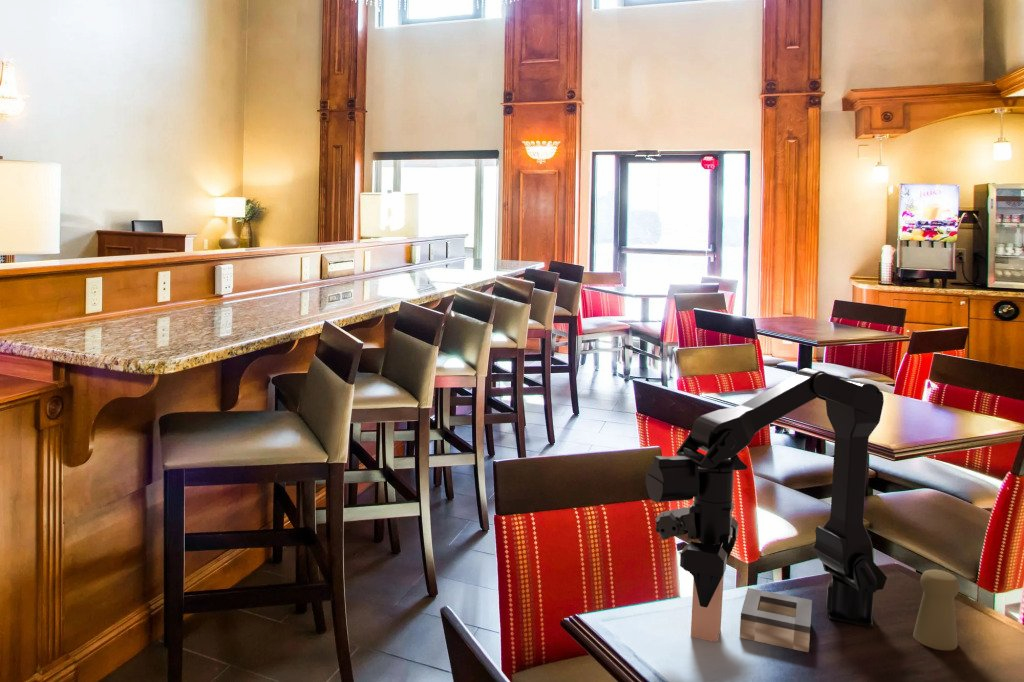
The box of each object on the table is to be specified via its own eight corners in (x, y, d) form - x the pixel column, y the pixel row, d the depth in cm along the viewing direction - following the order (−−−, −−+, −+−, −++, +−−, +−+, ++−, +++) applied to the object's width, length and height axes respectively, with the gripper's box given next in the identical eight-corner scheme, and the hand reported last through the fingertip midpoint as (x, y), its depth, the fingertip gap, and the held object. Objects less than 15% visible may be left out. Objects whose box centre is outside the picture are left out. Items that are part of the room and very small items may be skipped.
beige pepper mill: (964, 652, 109) (970, 583, 108) (920, 647, 111) (926, 578, 110) (948, 633, 115) (954, 567, 114) (907, 628, 117) (912, 563, 115)
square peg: (720, 630, 115) (723, 570, 114) (717, 642, 111) (720, 579, 110) (695, 625, 116) (698, 565, 115) (690, 636, 113) (693, 574, 112)
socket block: (810, 623, 118) (812, 600, 117) (808, 652, 108) (810, 627, 108) (746, 610, 122) (747, 587, 121) (739, 637, 112) (740, 613, 112)
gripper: (673, 475, 123) (669, 563, 125) (647, 507, 106) (643, 608, 108) (740, 484, 119) (736, 575, 120) (725, 519, 102) (720, 624, 103)
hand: (708, 594), depth 113 cm, fingers open, 9 cm apart
